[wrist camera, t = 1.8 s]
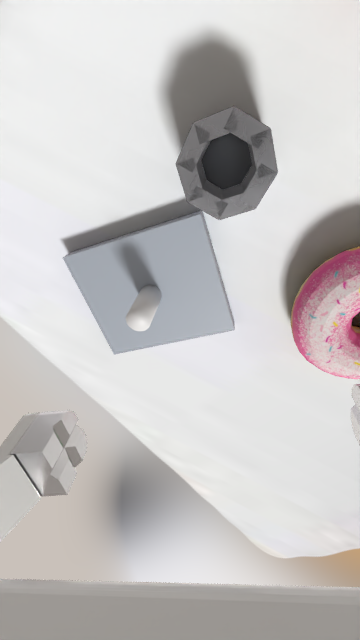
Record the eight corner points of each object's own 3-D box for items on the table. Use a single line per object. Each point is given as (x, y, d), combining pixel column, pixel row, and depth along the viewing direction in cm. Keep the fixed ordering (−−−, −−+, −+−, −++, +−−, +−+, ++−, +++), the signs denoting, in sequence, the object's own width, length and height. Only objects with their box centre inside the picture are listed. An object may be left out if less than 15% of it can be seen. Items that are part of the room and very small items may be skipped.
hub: (258, 101, 23) (264, 93, 18) (273, 189, 26) (282, 200, 21) (177, 133, 24) (166, 133, 20) (200, 213, 27) (195, 227, 23)
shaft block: (201, 210, 27) (194, 229, 22) (234, 322, 33) (235, 360, 27) (69, 252, 31) (35, 278, 26) (118, 346, 37) (98, 384, 31)
